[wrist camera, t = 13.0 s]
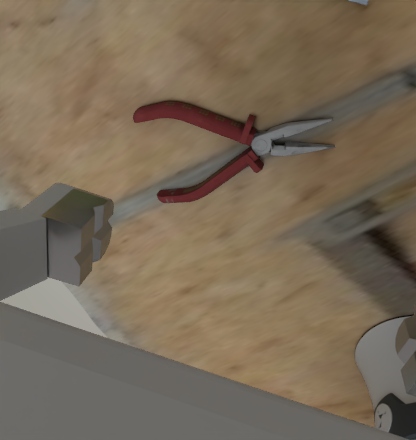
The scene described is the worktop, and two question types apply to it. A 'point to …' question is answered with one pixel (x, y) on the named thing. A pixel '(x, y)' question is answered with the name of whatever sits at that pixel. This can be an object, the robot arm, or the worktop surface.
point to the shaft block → (360, 1)
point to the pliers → (232, 130)
